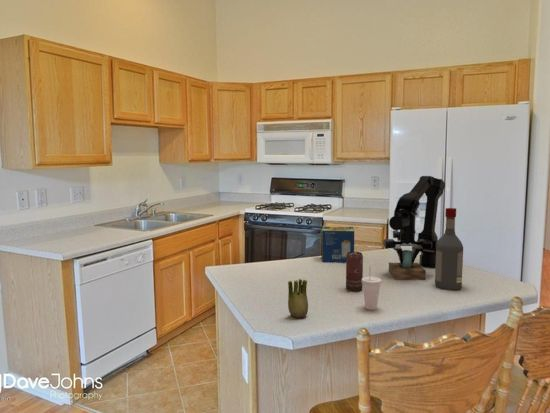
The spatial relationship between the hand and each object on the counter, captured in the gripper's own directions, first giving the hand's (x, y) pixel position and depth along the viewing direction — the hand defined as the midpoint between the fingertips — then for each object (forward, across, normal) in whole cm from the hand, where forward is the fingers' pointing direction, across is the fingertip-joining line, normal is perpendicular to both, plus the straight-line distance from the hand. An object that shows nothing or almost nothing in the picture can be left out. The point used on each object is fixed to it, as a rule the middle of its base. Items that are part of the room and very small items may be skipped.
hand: (406, 263), depth 170 cm
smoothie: (+5, +21, +37) cm, 43 cm away
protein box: (+5, +26, -26) cm, 37 cm away
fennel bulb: (+5, +45, +45) cm, 64 cm away
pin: (+2, 0, 0) cm, 2 cm away
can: (+5, +24, +18) cm, 30 cm away
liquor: (+5, -12, +14) cm, 19 cm away
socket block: (+5, 0, 0) cm, 5 cm away
